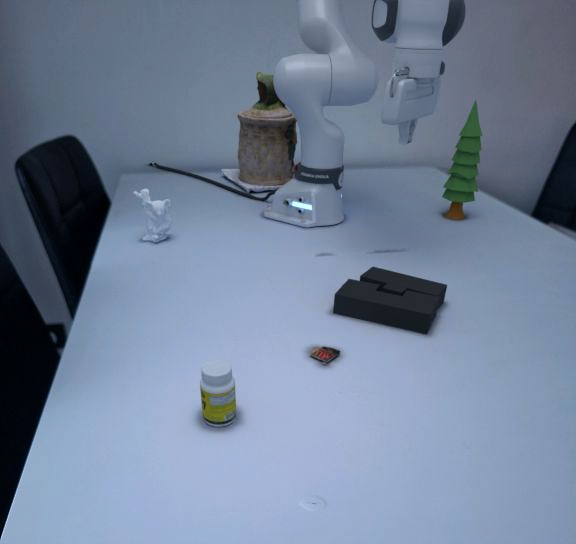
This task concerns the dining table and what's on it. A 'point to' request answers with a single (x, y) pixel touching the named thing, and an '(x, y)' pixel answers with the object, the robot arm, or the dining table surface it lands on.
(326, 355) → the matchbox
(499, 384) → the dining table surface
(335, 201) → the robot arm
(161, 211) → the koala figurine
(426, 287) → the black pad
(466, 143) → the decorative tree
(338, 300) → the charcoal pad
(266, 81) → the cookie jar
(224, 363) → the supplement bottle
